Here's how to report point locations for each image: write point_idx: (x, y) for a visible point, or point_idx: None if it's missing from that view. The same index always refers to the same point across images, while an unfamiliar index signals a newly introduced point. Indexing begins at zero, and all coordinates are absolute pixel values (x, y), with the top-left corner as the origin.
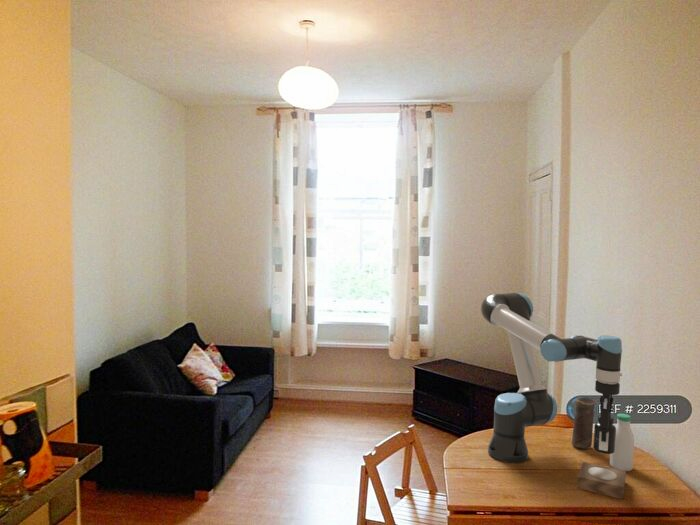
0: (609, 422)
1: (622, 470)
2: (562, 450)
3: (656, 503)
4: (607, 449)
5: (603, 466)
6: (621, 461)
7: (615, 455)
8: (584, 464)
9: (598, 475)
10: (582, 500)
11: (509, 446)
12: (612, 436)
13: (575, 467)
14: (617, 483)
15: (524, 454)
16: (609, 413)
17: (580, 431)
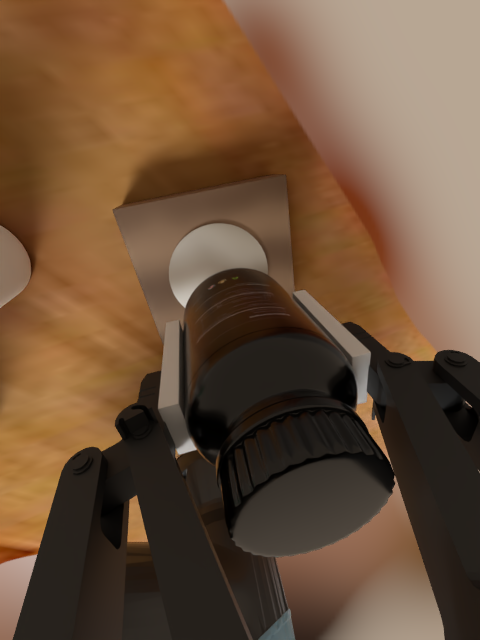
0: (360, 427)
1: (20, 242)
2: (57, 427)
3: (217, 41)
4: (309, 294)
5: (146, 293)
6: (5, 257)
7: (3, 290)
8: None
9: None
10: (350, 269)
11: None
12: (306, 317)
13: (150, 358)
14: (265, 205)
15: None
16: (211, 555)
17: None
